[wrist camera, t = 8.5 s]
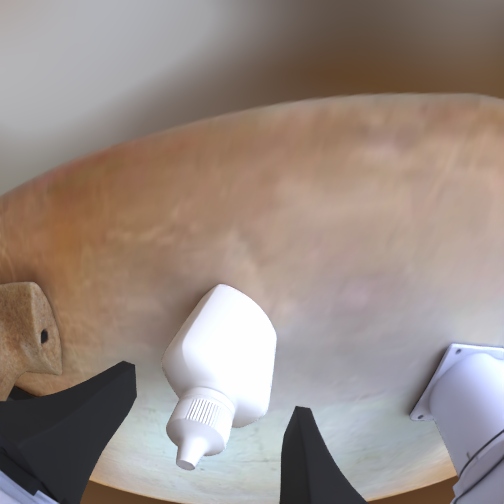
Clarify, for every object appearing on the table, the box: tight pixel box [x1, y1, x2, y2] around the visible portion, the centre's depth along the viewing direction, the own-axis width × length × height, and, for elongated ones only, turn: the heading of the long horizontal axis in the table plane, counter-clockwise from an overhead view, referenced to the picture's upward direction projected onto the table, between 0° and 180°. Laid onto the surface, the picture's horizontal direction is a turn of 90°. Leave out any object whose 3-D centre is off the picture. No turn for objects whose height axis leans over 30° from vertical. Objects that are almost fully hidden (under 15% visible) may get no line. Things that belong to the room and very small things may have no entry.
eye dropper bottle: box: [161, 284, 277, 470], centre depth 14 cm, size 4×6×12 cm
